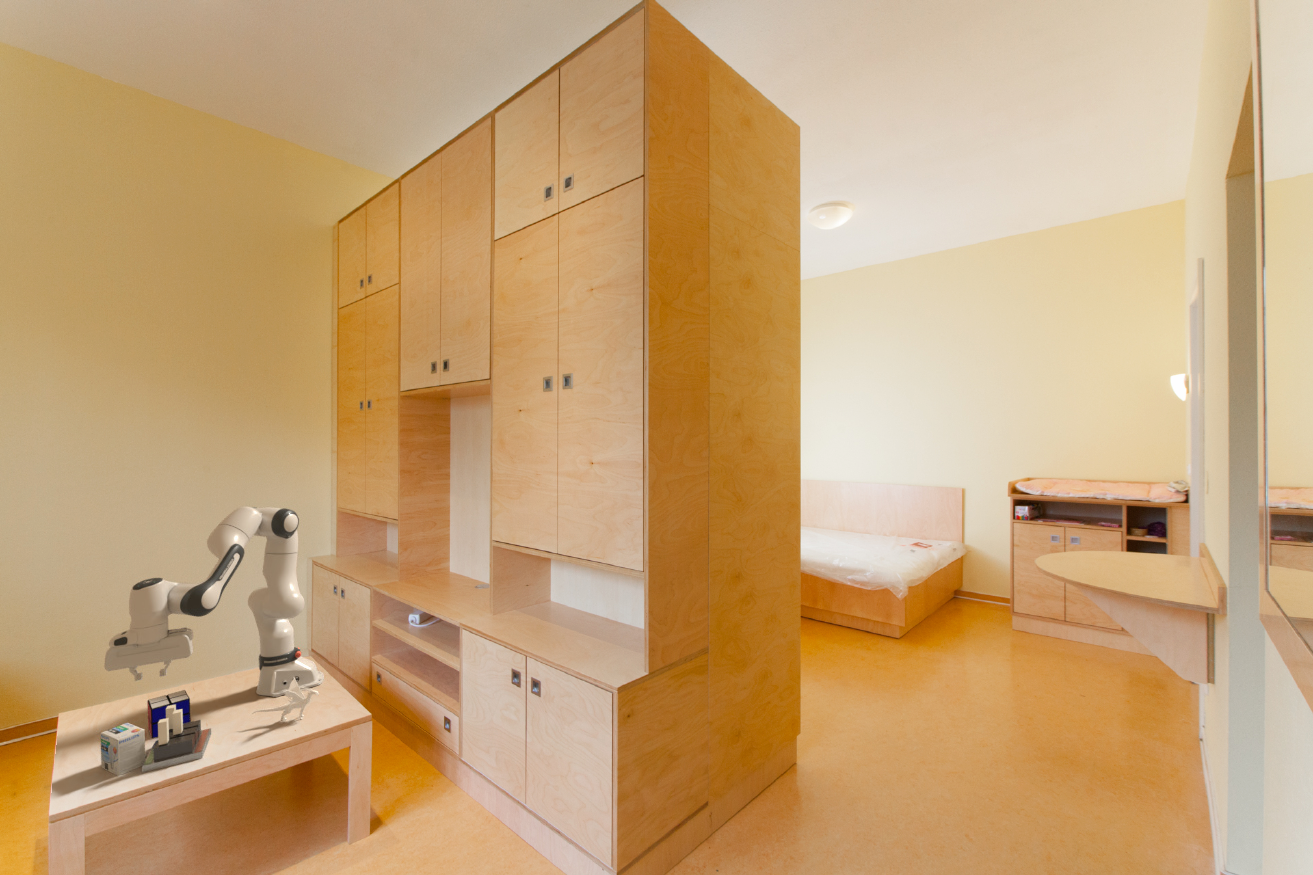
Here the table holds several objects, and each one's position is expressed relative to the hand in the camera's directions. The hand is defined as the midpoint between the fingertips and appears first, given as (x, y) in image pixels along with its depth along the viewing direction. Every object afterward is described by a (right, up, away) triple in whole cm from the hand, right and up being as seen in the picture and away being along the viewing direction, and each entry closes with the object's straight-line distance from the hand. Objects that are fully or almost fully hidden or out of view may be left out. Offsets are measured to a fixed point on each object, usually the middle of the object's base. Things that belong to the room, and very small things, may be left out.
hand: (151, 677), depth 173 cm
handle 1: (+6, -19, -2) cm, 20 cm away
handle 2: (+1, -19, +6) cm, 20 cm away
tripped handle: (+5, -19, +3) cm, 20 cm away
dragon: (+27, -25, +22) cm, 43 cm away
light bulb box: (-5, -26, -3) cm, 26 cm away
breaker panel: (+6, -25, +3) cm, 26 cm away
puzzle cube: (-10, -25, +18) cm, 33 cm away
